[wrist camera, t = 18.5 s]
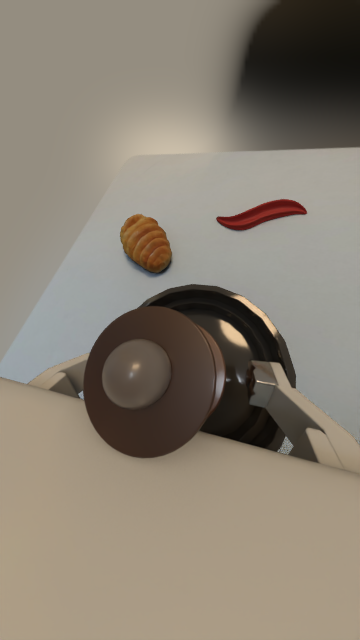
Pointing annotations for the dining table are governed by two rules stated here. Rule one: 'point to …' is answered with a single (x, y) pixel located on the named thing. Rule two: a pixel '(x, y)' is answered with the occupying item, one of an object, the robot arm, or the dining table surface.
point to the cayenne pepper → (262, 214)
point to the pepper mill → (152, 381)
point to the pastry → (146, 243)
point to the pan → (234, 357)
